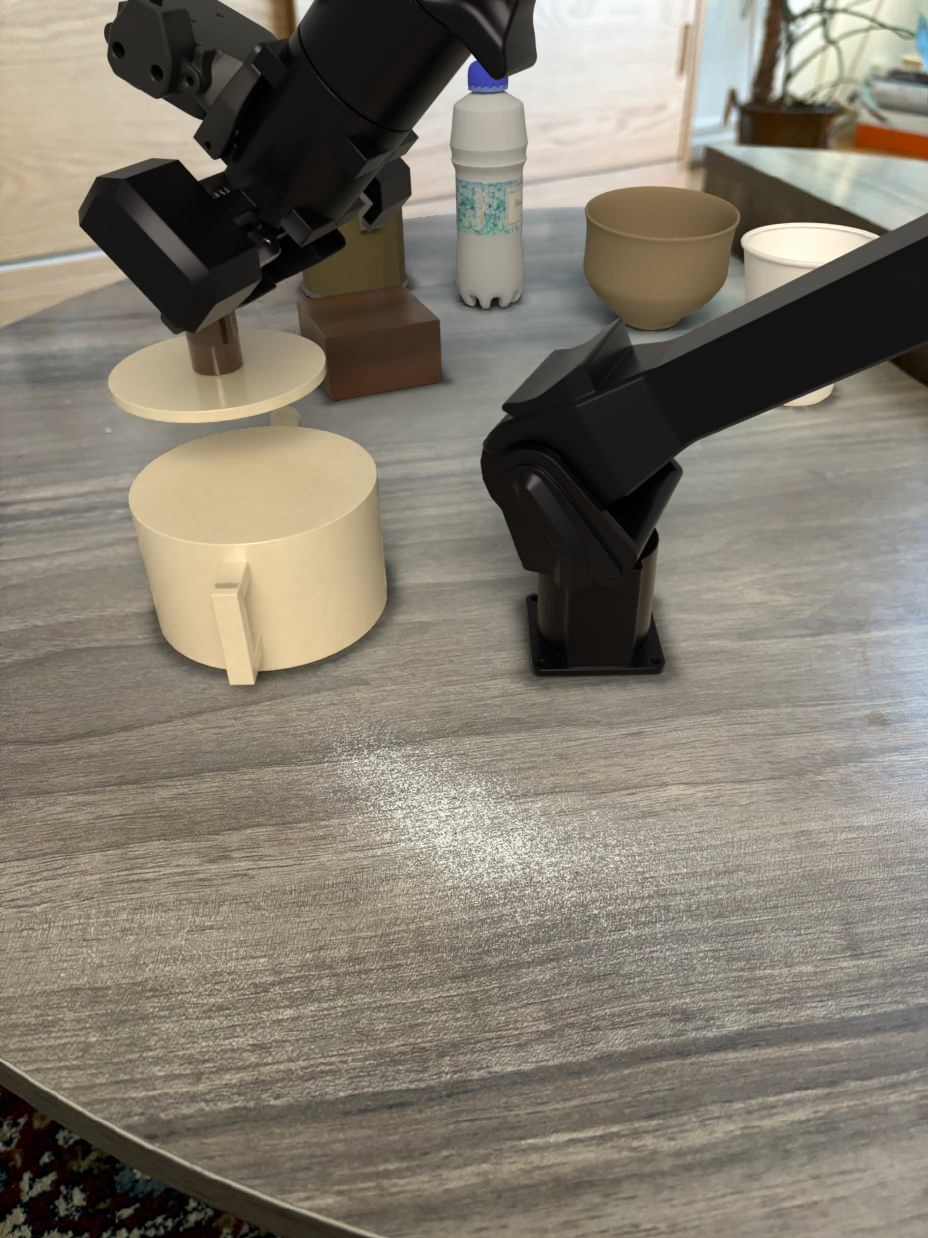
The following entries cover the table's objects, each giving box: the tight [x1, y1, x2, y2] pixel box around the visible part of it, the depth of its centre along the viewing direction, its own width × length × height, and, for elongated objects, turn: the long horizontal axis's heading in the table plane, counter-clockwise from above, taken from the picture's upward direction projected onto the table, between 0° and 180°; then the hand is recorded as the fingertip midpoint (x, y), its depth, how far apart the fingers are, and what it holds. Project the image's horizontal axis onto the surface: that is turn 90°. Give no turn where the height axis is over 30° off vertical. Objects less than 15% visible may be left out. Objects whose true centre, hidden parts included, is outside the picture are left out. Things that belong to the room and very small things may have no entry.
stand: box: [296, 285, 443, 402], centre depth 79 cm, size 9×9×5 cm
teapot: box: [127, 404, 388, 686], centre depth 53 cm, size 20×12×8 cm, turn 0°
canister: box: [301, 192, 409, 299], centre depth 91 cm, size 11×10×20 cm
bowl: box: [582, 185, 741, 331], centre depth 84 cm, size 13×13×10 cm
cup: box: [740, 222, 881, 407], centre depth 72 cm, size 10×10×11 cm
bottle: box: [449, 59, 529, 310], centre depth 87 cm, size 7×7×20 cm
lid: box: [107, 309, 327, 424], centre depth 49 cm, size 11×11×7 cm
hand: (187, 316), depth 50 cm, fingers closed on lid, 3 cm apart
